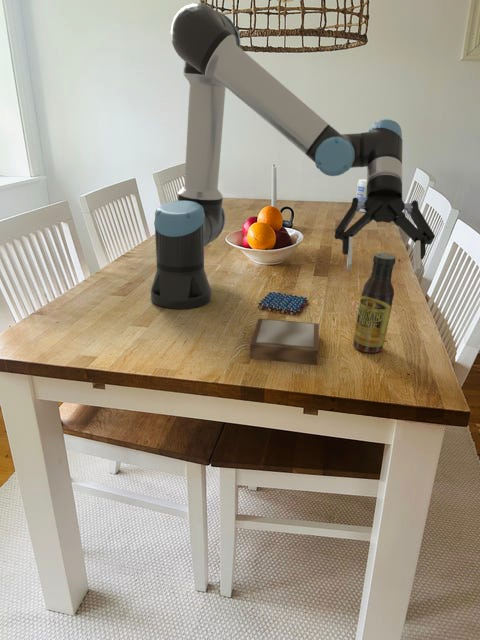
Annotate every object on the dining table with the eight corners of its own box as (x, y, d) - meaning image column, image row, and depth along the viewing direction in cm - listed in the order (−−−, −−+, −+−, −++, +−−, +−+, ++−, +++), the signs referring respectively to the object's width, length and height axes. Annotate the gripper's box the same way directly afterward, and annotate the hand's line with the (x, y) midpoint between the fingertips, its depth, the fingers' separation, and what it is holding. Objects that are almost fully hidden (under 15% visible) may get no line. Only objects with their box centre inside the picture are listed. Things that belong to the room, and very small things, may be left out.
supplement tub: (352, 211, 239) (356, 180, 233) (355, 208, 247) (359, 178, 241) (373, 213, 236) (377, 182, 230) (375, 210, 244) (379, 179, 238)
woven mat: (298, 318, 116) (299, 310, 115) (256, 311, 119) (256, 303, 118) (309, 303, 125) (310, 296, 124) (270, 297, 128) (270, 290, 127)
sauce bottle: (347, 348, 101) (359, 254, 93) (360, 338, 105) (373, 248, 97) (377, 358, 97) (392, 261, 89) (389, 347, 102) (405, 254, 94)
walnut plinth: (249, 358, 95) (250, 343, 94) (257, 330, 107) (258, 317, 106) (316, 364, 94) (318, 349, 93) (317, 336, 106) (318, 322, 104)
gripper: (438, 196, 110) (440, 281, 102) (325, 191, 113) (320, 273, 105) (448, 175, 103) (452, 264, 95) (328, 170, 106) (322, 256, 98)
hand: (382, 269), depth 100 cm, fingers open, 13 cm apart
